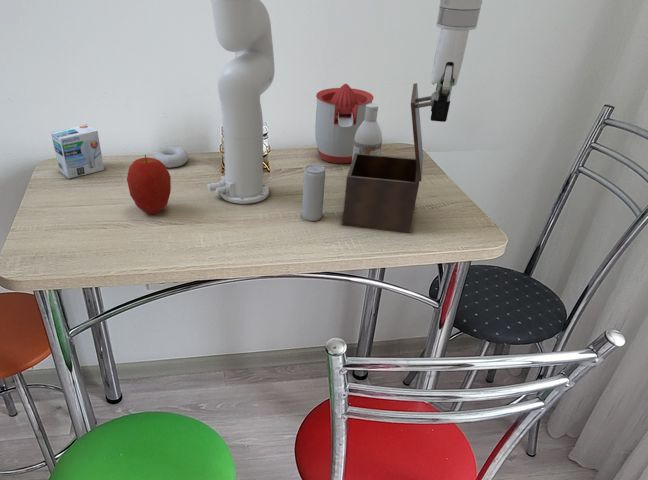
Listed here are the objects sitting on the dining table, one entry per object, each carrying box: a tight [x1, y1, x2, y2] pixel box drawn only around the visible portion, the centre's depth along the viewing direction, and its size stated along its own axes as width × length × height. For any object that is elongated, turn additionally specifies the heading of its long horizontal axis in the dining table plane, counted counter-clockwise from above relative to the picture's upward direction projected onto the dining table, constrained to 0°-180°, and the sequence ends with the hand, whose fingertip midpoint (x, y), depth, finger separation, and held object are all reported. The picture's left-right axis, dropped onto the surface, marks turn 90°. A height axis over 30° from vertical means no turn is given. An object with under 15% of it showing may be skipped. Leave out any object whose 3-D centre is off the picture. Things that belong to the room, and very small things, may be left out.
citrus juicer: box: [314, 83, 375, 164], centre depth 157 cm, size 16×17×20 cm
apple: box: [126, 153, 172, 215], centre depth 132 cm, size 10×10×14 cm
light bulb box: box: [50, 124, 105, 180], centre depth 152 cm, size 11×7×11 cm, turn 129°
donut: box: [152, 145, 189, 169], centre depth 159 cm, size 10×4×10 cm
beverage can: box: [301, 164, 326, 222], centre depth 131 cm, size 5×5×12 cm
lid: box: [410, 82, 437, 183], centre depth 121 cm, size 16×15×5 cm
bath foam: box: [352, 102, 383, 160], centre depth 143 cm, size 7×7×20 cm
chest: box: [341, 153, 420, 234], centre depth 132 cm, size 16×15×12 cm
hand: (438, 115), depth 119 cm, fingers closed on lid, 5 cm apart
